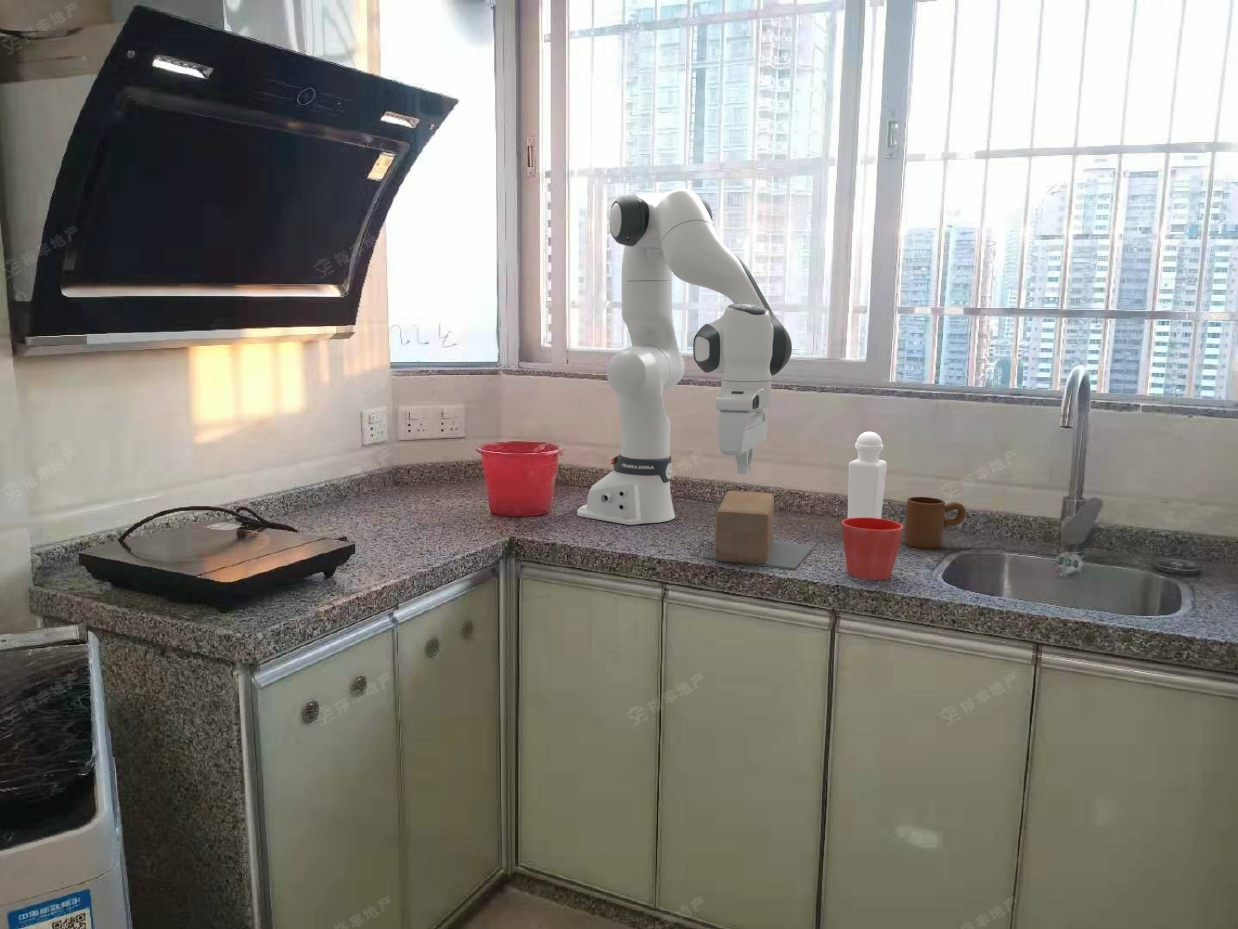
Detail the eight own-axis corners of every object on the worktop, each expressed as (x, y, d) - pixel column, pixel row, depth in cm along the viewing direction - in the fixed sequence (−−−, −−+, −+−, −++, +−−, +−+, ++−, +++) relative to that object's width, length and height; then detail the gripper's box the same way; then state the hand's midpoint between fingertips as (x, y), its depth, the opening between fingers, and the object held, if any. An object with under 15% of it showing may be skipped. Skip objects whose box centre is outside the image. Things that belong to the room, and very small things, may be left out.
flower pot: (854, 563, 182) (857, 513, 181) (909, 574, 175) (912, 523, 174) (828, 574, 174) (831, 523, 173) (884, 586, 167) (888, 533, 166)
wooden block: (769, 513, 176) (774, 492, 195) (715, 510, 178) (726, 489, 198) (766, 565, 178) (772, 539, 197) (713, 561, 180) (724, 536, 199)
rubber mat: (702, 558, 183) (702, 556, 183) (728, 537, 200) (729, 535, 200) (794, 570, 177) (794, 568, 177) (814, 547, 193) (814, 545, 193)
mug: (957, 541, 200) (960, 497, 199) (968, 550, 193) (972, 505, 191) (899, 539, 201) (902, 495, 199) (908, 548, 193) (912, 503, 192)
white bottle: (873, 536, 203) (880, 434, 199) (844, 532, 206) (850, 431, 202) (882, 530, 208) (889, 431, 204) (853, 526, 211) (859, 428, 208)
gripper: (743, 390, 179) (742, 463, 181) (712, 400, 160) (710, 481, 162) (777, 392, 176) (774, 465, 179) (748, 402, 158) (746, 484, 160)
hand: (744, 473), depth 170 cm, fingers closed
